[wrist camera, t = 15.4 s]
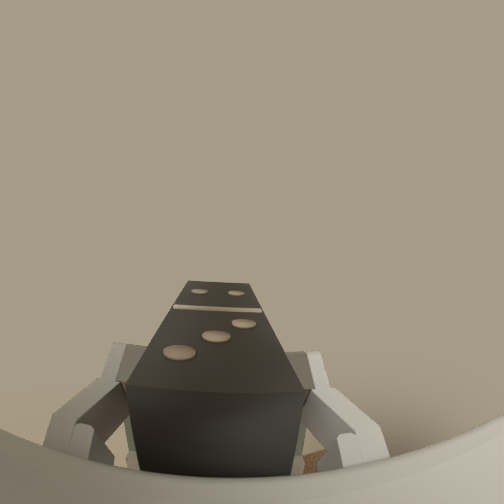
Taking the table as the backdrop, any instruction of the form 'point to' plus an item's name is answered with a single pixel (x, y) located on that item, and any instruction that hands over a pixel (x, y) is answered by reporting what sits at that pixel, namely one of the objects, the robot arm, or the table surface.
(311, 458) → the table surface
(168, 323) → the domino bar
